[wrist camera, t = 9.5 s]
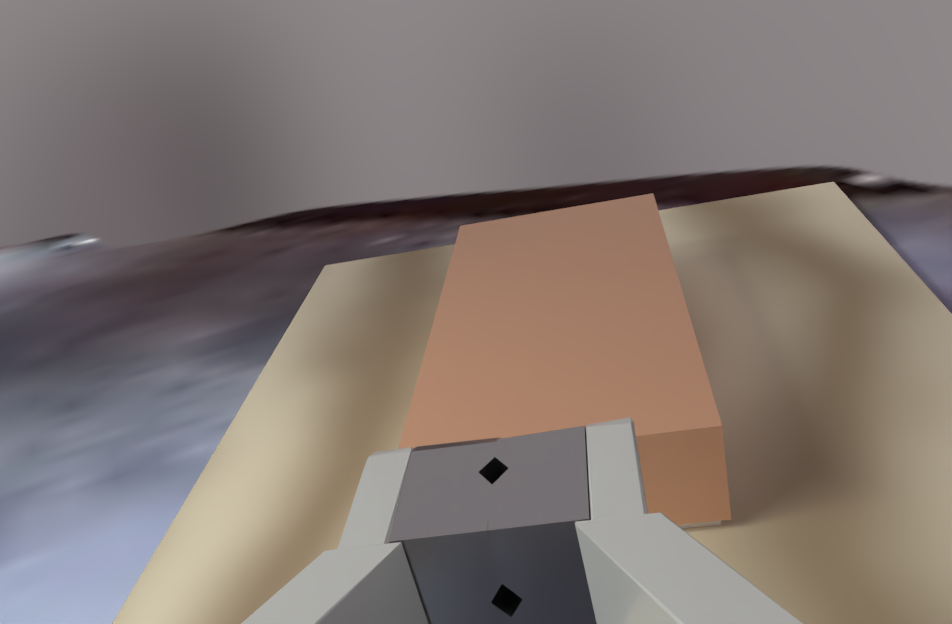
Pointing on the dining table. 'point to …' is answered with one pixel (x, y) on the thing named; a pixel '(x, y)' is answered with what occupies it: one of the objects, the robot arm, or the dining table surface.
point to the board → (733, 386)
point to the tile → (575, 347)
